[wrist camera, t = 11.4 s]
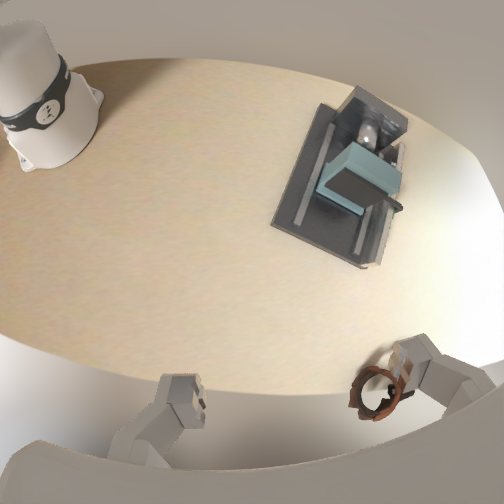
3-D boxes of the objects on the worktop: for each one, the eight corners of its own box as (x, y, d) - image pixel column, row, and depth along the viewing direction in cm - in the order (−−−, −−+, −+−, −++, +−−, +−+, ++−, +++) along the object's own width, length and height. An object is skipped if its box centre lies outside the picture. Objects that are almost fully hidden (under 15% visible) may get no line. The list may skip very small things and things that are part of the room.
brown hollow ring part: (343, 425, 38) (354, 428, 31) (337, 375, 43) (347, 368, 36) (406, 410, 37) (426, 408, 30) (399, 362, 42) (417, 352, 35)
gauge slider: (383, 228, 40) (422, 215, 31) (315, 191, 39) (346, 166, 30) (389, 202, 41) (426, 184, 32) (324, 164, 40) (354, 135, 31)
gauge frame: (361, 269, 41) (400, 264, 31) (270, 225, 39) (291, 206, 30) (390, 151, 45) (421, 129, 36) (317, 107, 43) (340, 75, 34)
